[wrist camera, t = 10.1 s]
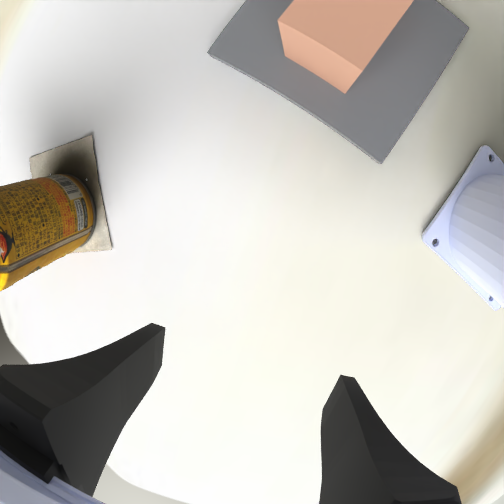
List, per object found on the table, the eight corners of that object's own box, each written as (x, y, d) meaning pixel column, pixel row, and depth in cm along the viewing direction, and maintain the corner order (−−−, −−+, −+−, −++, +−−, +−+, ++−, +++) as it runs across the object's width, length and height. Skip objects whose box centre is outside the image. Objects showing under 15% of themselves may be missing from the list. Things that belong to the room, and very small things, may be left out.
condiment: (49, 255, 23) (-57, 315, 12) (30, 157, 21) (-89, 181, 10) (114, 248, 22) (-6, 326, 11) (94, 134, 20) (-47, 144, 8)
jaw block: (408, 5, 13) (438, -34, 8) (345, 94, 16) (362, 70, 11) (353, -29, 13) (365, -77, 8) (284, 56, 16) (277, 20, 10)
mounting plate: (463, 32, 14) (469, 27, 13) (377, 163, 18) (381, 163, 17) (311, -63, 13) (311, -70, 12) (211, 56, 17) (207, 52, 16)
